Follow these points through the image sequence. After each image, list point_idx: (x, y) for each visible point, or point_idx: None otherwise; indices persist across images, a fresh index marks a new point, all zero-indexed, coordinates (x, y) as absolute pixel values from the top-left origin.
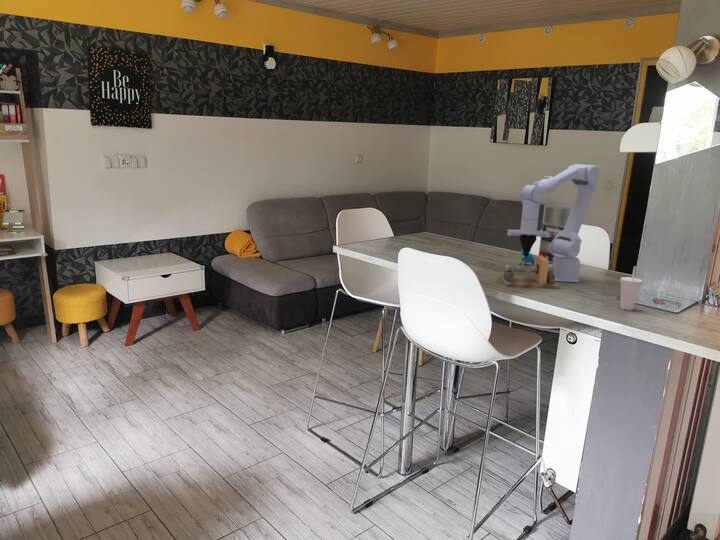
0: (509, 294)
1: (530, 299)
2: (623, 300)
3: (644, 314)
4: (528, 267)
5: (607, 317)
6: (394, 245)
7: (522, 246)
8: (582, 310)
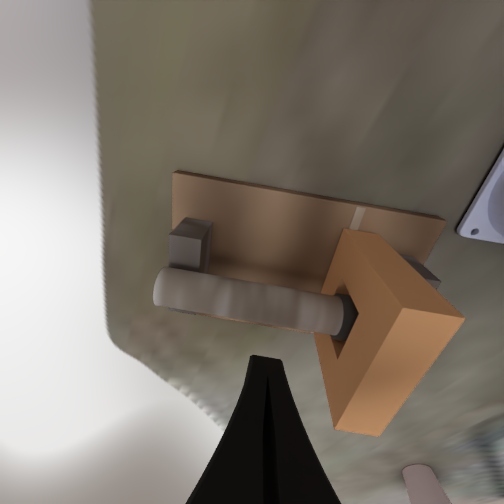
0: (162, 376)
1: (208, 411)
2: (410, 501)
3: None
4: (281, 326)
5: None
6: None
7: (228, 431)
8: None
